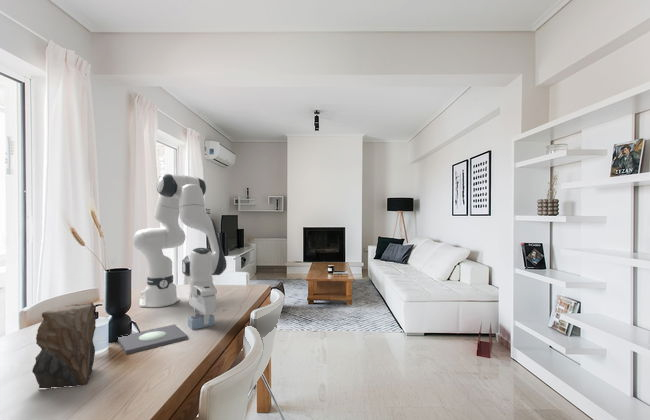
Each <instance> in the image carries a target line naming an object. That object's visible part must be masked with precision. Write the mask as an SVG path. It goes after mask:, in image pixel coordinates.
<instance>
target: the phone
mask: <svg viewBox="0 0 650 420" xmlns="http://www.w3.org/2000/svg"><path fill="white" fill-rule="evenodd" d="M203 319H204V314H203V313H201V314H200V315H197V316H195V315H193V316H192V315H191V316H188V317H187V327H188V328H189V329H190V330H196V329H201V328H207V327H210V326H215V314H213V315H210V318H209V323H208V324H206V325H205V324H204V323H203Z"/></svg>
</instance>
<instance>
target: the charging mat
mask: <svg viewBox="0 0 650 420" xmlns="http://www.w3.org/2000/svg"><path fill="white" fill-rule="evenodd" d="M139 332H140V333H139ZM129 334H130V335H128V334H127V335H128V336H123V335H121V336H122V337H118V336H117V337H118V340H117V342H118V344H119V345H120V347H121V349H122V351H123V352H124V354H125V355H129V354H133V353H137V352H140V351H144V350H147V349H152V348H157V347H160V346H161V347H162V346H165V345H168V344H172V343H177V342H180V341H185V340H188V339H189V336H188V334H186V332H185V331H183V330H182V329H181V328H179V327H178V326H177V324H170V325H165V326H161V327H156V328H151V329H147V330H143V331H137V332H131V333H129Z"/></svg>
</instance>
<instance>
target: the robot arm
mask: <svg viewBox="0 0 650 420" xmlns="http://www.w3.org/2000/svg"><path fill="white" fill-rule="evenodd" d="M156 190H157V193H158V194H159V195H158V197H157V202H156V205H155V209H154V218H155V220H156V221H158V222H159V223H161V225H160V227H148V228H143V229H139V230H136V232H135V233H134V234H133V238H132V242H133V246H134V247H135V248H136V249H137V250H139V251H140V252H141V253H142V254H143V255H144V256H145V259H146V262H147V271H148V274H147V275H148V276H147V278H146V284H147V285H146V287H145V288H144V290H142V291H141V292H140V296H141V298H139V307H140V308H160V307H166V306H171V305H174V304H175V303H177V302H179V301H181V299H180V298H179V297H178V294H177V292H178V291H177V285H176V284H174V275H173V261H172V259H171V258H170V257H169V256H166V255H165V254H164V253H163V250H166V249H174V248H177V247H180V246H183V244H184V243H185V241H186V234H185V231H184V229H182V228H181V227H180V225H179V218H180V220H181V222H182V223H183V224H184V225H185V226H187V227H188V228H191V229H194V230H196V231H200V232H202V233H204V234H205V235H206V236H207V239H208V243H209V247H210V249H209V248H207V247H197V248H194V249H192V250H191V253H190V254H189V255H186V256H185V257H184V258H183V259H182V260H181V262H182V264H181V266H182V267H181V272H182V274H183V275H185V276H186V277H190V279H189V280H190V281H189V296H188V297H189V300H188V304H189V306H190V307H192V308H193V312H194V316H197V315H201V314H204V319H203V323H204V324H205V325H206V324H208V323H209V318H210V315H215V313H216V307H217V297H216V295H217V293H218V290H217V288H216V287H215V285H214V281H213V276H220V275H221V274H223V273H224V271H226V269H227V259H226V256H225V254H224V250H223V248H222V244H221V240H220V236H219V233H218V229H217V226H216V222H215V221H214V219H213V218H211V217H210V215H208V212H207V211H206V203H205V197H204V196H205V193H206V190H207V186H206V182H205V181H204V180H203V179H202V178H199V177H195V176H189V175H185V174H183V175H182V174H181V175H179V174H170V173H164V174H161V175H160V176H159V177H158V179H157V181H156Z"/></svg>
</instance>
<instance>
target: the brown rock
mask: <svg viewBox="0 0 650 420" xmlns="http://www.w3.org/2000/svg"><path fill="white" fill-rule="evenodd" d="M94 312H95V304H94V302H90V303H89V302H88V303H83V304H73V303H72V304H70V305H66V306H65V307H62V308H58V309H56V310H47V311H44V312H42V313H41V317H42V321H41V323H40V325H39V326H38V328H37V330H36V331H37V333H36V337H35V340H36V342H35V344H36V345H37V346H38V347H39V348H40V349H41V350H40V352H39V353H38V354H37V355H36V356H35V363H34V365H33V367H32V370H31V371H32V373H33V374H34V376H35V379H36V383H37V385H38V389H39V388H51V387H64V386H75V387H78V386H77V385H81V386H86V384H87V385H88V382H89V381H88V380H89V379H90V376H91V373H92V370H93V367H94V366H93V365H94V361H95V354H96V349H95V348H96V346H95V344H94V337H95V332H96V328H97V327H96V316H95V313H94ZM64 388H65V387H64Z"/></svg>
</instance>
